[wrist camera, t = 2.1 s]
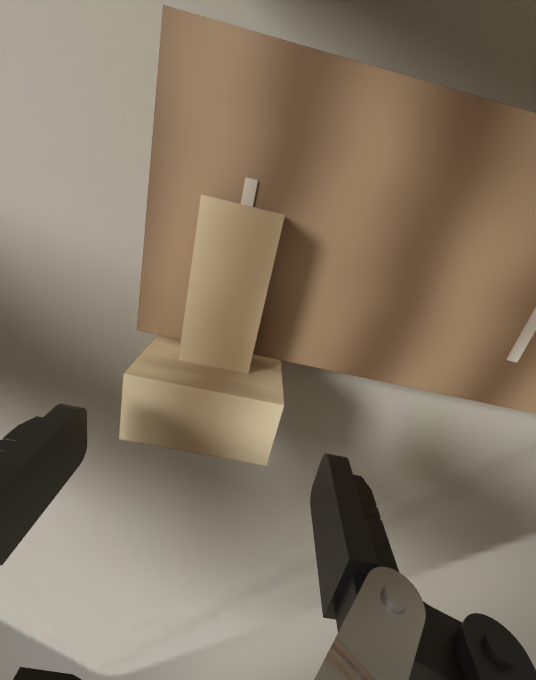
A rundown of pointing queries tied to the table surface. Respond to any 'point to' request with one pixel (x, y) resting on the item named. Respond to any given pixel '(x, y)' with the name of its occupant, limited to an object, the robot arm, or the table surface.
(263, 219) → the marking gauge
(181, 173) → the oak board
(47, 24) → the table surface
